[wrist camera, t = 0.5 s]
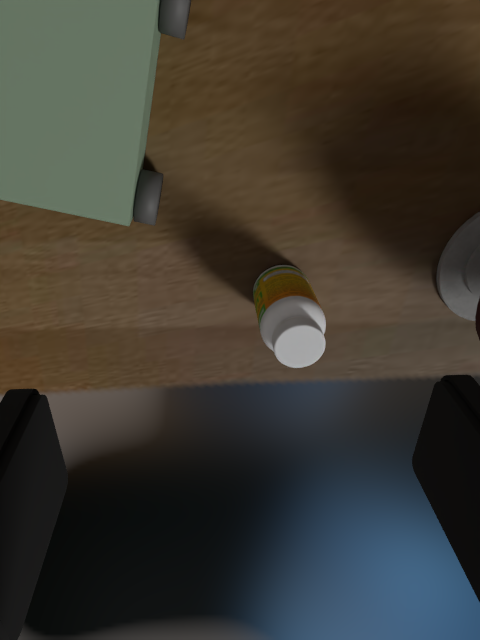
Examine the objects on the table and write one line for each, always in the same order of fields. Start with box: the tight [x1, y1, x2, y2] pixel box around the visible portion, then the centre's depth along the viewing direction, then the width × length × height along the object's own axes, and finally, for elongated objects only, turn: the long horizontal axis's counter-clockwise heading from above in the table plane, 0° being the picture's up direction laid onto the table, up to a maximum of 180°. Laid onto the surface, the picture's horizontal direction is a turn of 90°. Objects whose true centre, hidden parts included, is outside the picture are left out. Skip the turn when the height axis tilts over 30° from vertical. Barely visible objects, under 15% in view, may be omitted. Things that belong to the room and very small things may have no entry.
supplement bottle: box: [253, 265, 326, 368], centre depth 38 cm, size 5×5×10 cm
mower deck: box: [0, 0, 191, 226], centre depth 30 cm, size 17×19×5 cm
